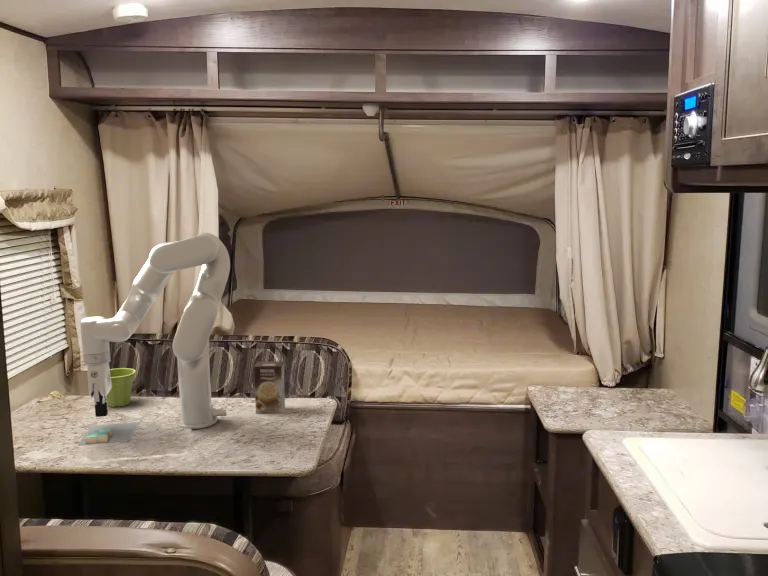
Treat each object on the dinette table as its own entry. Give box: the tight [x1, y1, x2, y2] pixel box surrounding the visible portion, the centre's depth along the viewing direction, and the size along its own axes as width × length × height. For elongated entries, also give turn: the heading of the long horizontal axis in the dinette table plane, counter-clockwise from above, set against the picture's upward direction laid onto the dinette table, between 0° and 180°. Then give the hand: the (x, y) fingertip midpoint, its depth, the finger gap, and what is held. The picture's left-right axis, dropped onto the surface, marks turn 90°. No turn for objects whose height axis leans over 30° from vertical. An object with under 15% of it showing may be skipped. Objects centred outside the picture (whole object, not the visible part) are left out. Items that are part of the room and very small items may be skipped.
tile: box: [85, 429, 111, 443], centre depth 194 cm, size 6×2×6 cm
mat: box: [77, 421, 139, 446], centre depth 198 cm, size 14×16×1 cm
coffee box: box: [253, 361, 286, 415], centre depth 216 cm, size 9×6×16 cm
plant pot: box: [106, 367, 136, 408], centre depth 226 cm, size 12×12×11 cm
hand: (101, 415), depth 202 cm, fingers closed
